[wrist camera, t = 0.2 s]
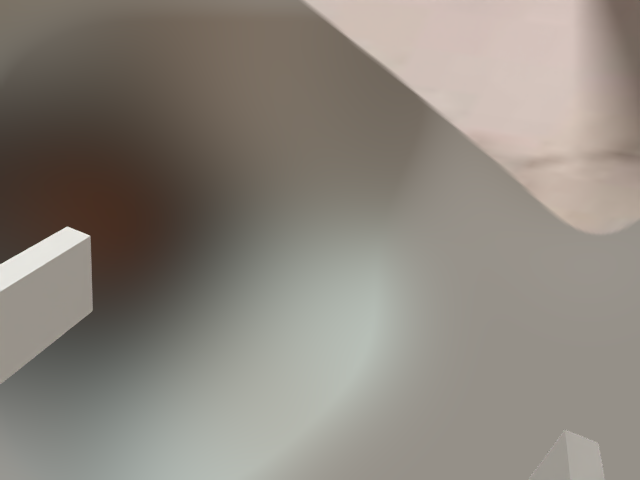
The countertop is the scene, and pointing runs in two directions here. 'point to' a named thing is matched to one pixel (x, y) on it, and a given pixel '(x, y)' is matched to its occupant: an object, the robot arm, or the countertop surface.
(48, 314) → the robot arm
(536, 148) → the countertop surface
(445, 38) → the countertop surface
